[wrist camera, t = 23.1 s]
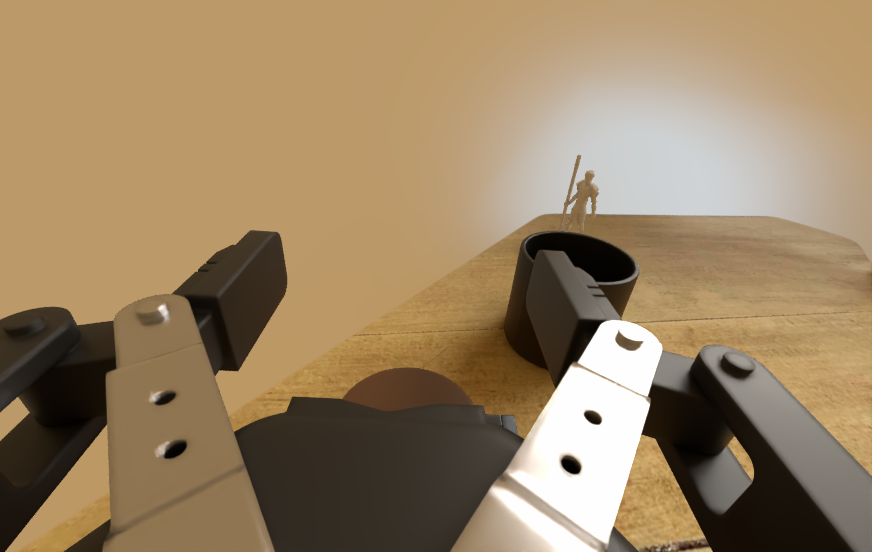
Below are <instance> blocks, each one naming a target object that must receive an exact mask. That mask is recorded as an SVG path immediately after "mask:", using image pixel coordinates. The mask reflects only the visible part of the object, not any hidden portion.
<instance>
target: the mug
mask: <svg viewBox="0 0 872 552" xmlns="http://www.w3.org/2000/svg"><path fill="white" fill-rule="evenodd" d="M539 250H550V251H563V252H565V253H566V255H567V256H568V258H569V260H570V261H571V263H572V264H573V266H574V267H577V268H580V269H582V270H583V271H585V272H586V273H587V274H589V275H590V276H592V278H593V279H594V280H595V282H596V283H597V285H598V286H599V289H601V290H602V292H603V293H604V295H605V297H607V299H608V300H609V302H610V303H611V305H612V306H613V307H614V309H615V310H616V312H617V313H618V315H619V316H620V317H622V315H623V312H624V310H625V307H626V305H627V302H628V300H629V297H630V295H631V293H632V290H633V288H634V285H635V283H636V280H637V278H638V275H639V266H638V263H637V262H636V261H635V259H634V258H633V257H632V256H631V255H630V254H628V253H627V252H626V251H624V250H622V249H621V248H619V247H617V246H615V245H613V244H611V243H609V242H606V241H604V240H601V239H598V238H595V237H592V236H588V235H584V234H579V233H573V232H565V231H546V232H539V233H535V234H532V235H530V236H528V237H526V238H525V239H524V240H523V242H522V243H521V246H520V251H519V256H518V261H517V266H516V271H515V275H514V280H513V285H512V290H511V295H510V300H509V304H508V309H507V314H506V319H505V324H504V330H505V334H506V337H507V339H508V341H509V343H510V344H511V346H512V347H513V348H514V349H515V350H516V351H517V352H518V353H519V354H520V355H522V356H523V357H524V358H526V359H527V360H529V361H531V362H532V363H534V364H537V365H539V366H541V367H544V368H547V369H548V367H547V364H546V361H545V358H544V356H543V353H542V350H541V347H540V345H539V342H538V339H537V336H536V334H535V331H534V328H533V325H532V322H531V320H530V317H529V314H528V311H527V307H526V295H527V290H528V286H529V282H530V277H531V273H532V269H533V265H534V261H535V257H536V254H537V252H538V251H539Z"/></svg>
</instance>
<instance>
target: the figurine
mask: <svg viewBox="0 0 872 552" xmlns="http://www.w3.org/2000/svg"><path fill="white" fill-rule="evenodd" d="M580 159H581V155H578V156H577V159H576V163H575V167H574V172H573V176H572V180H571V184H570V187H569V191H568V195H567V199H566V202H565V203H564V210H563V214H562V218H561V222H560V225H559V228H558V231H561V230H562V226H563V222H564V218H565V214H566V210H567V207H568V205H569V204H571V203H572V202H573V201H574V200H575V199H577V198H578V199H577V200H576V204H575V205H574V206H573V208H572V211H571V214H570V216H569V218H568V222H567V224H566V227H565V232H568V231H569V230H570V228H571V224H572V221H576V220H578V223H579V228H578V230H579V234H583V232H584V225H583V223H584V219H585V218H586V204H587V201H588V197H589V196H590V197H591V200H592V201H591V202H592V213H591V215H590V217H591V219H594V218H595V217H596V216H595V211H596V197H597V195H598V186H597V185H595V184H592V183H591V180H592V178H593V177H594V171H587V172H586V174H585V180H582V181H580V182H578V183H577V190H578V192H577V193H576V194H575V195H574V196H573V197H572V199H571V200H570V201H569V199H570V195H571V191H572V187H573V184H574V179H575V176H576V173H577V169H578V166H579V162H580Z"/></svg>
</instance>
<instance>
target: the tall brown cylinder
mask: <svg viewBox="0 0 872 552" xmlns="http://www.w3.org/2000/svg"><path fill="white" fill-rule="evenodd" d="M343 400H346V401H350V402H353V403H357V404H361V405H364V406H368V407H372V408H375V409H379V410H382V411H396V410H402V409H408V408H414V407H420V406H425V405H431V404H437V403H440V404H461V405H474V404H473V402H472V401H471V399H470V398H469V396H468V395H467V394H466V393H465V392H464V390H463V389H462V388H460V387H459V386H458V385H457V384H456V383H454V382H453V381H452V380H450V379H448V378H446V377H445V376H443V375H440V374H438V373H436V372H432V371H429V370H425V369H420V368H394V369H389V370H385V371H381V372H378V373H376V374H373V375H371V376H369V377H367V378H365V379H363V380H362V381H360V382H359V383H357V384H356V385H355V386H354V387H353V388H351V389H350V390H349V391H348V393H347V394H346V395H345V396H344V397H343Z"/></svg>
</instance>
